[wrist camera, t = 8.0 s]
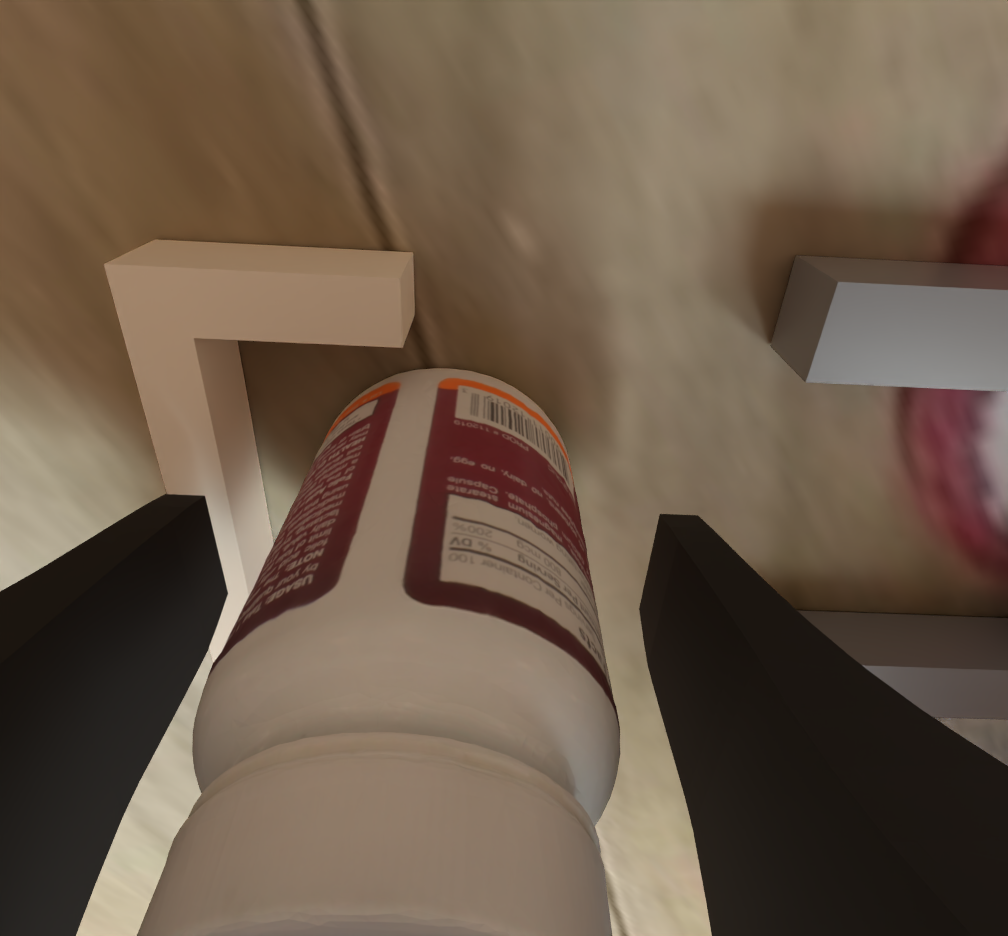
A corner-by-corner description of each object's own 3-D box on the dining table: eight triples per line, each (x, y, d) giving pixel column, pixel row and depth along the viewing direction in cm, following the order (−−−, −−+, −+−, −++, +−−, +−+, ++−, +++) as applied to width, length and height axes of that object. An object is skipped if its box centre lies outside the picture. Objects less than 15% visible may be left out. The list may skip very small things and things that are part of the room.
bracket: (413, 252, 10) (400, 278, 9) (422, 637, 14) (414, 692, 13) (155, 239, 10) (103, 263, 9) (244, 631, 14) (219, 685, 13)
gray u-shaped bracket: (1390, 286, 10) (1516, 315, 9) (1093, 668, 15) (1147, 724, 14) (796, 255, 10) (838, 281, 9) (683, 654, 15) (700, 709, 14)
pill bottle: (362, 584, 14) (208, 1140, 7) (289, 381, 11) (-89, 922, 4) (584, 557, 13) (677, 1119, 6) (558, 341, 11) (661, 858, 4)
